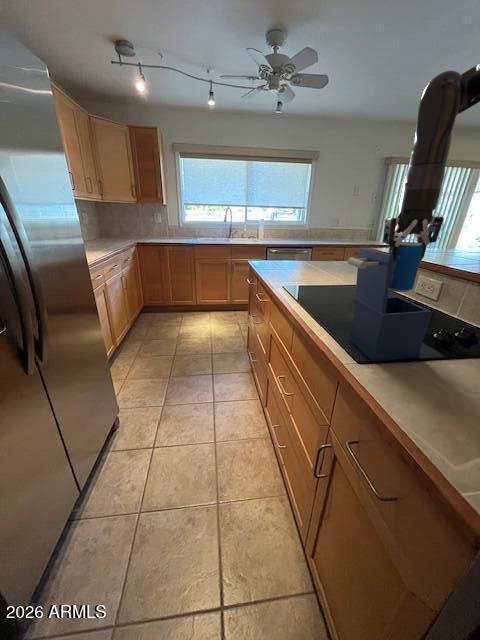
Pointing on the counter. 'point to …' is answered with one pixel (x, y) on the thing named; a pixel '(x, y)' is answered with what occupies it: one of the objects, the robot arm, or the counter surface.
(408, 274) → the beverage can
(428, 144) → the robot arm
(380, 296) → the lid
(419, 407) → the counter surface
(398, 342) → the box
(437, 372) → the counter surface
